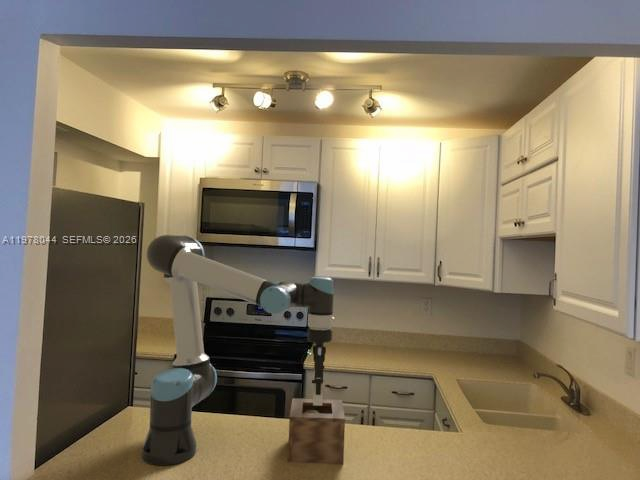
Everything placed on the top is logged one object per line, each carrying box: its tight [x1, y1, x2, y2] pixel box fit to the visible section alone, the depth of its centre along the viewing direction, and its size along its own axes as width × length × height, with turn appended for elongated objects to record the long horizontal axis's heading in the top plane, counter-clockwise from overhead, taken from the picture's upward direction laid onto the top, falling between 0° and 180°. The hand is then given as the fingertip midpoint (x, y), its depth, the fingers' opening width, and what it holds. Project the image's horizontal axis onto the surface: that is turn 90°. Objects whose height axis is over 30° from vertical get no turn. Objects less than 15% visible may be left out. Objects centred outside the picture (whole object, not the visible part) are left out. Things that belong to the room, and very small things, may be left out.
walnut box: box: [287, 397, 346, 465], centre depth 139 cm, size 16×16×13 cm
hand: (317, 397), depth 139 cm, fingers open, 13 cm apart
